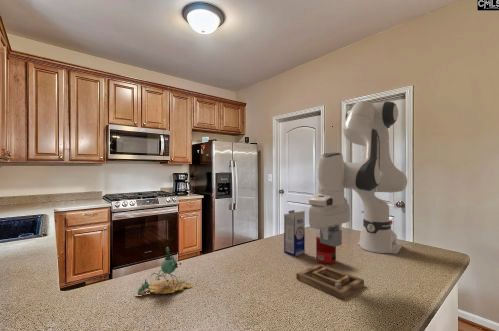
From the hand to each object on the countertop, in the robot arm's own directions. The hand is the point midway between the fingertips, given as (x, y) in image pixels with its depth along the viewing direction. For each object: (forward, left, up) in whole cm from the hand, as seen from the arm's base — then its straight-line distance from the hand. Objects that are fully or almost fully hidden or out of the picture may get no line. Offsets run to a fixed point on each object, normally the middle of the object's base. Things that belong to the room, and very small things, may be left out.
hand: (330, 237), depth 87 cm
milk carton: (-12, -27, -16) cm, 33 cm away
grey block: (0, 0, -2) cm, 2 cm away
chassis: (0, 0, -15) cm, 15 cm away
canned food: (-15, -12, -16) cm, 25 cm away
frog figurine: (+47, -31, -16) cm, 59 cm away
